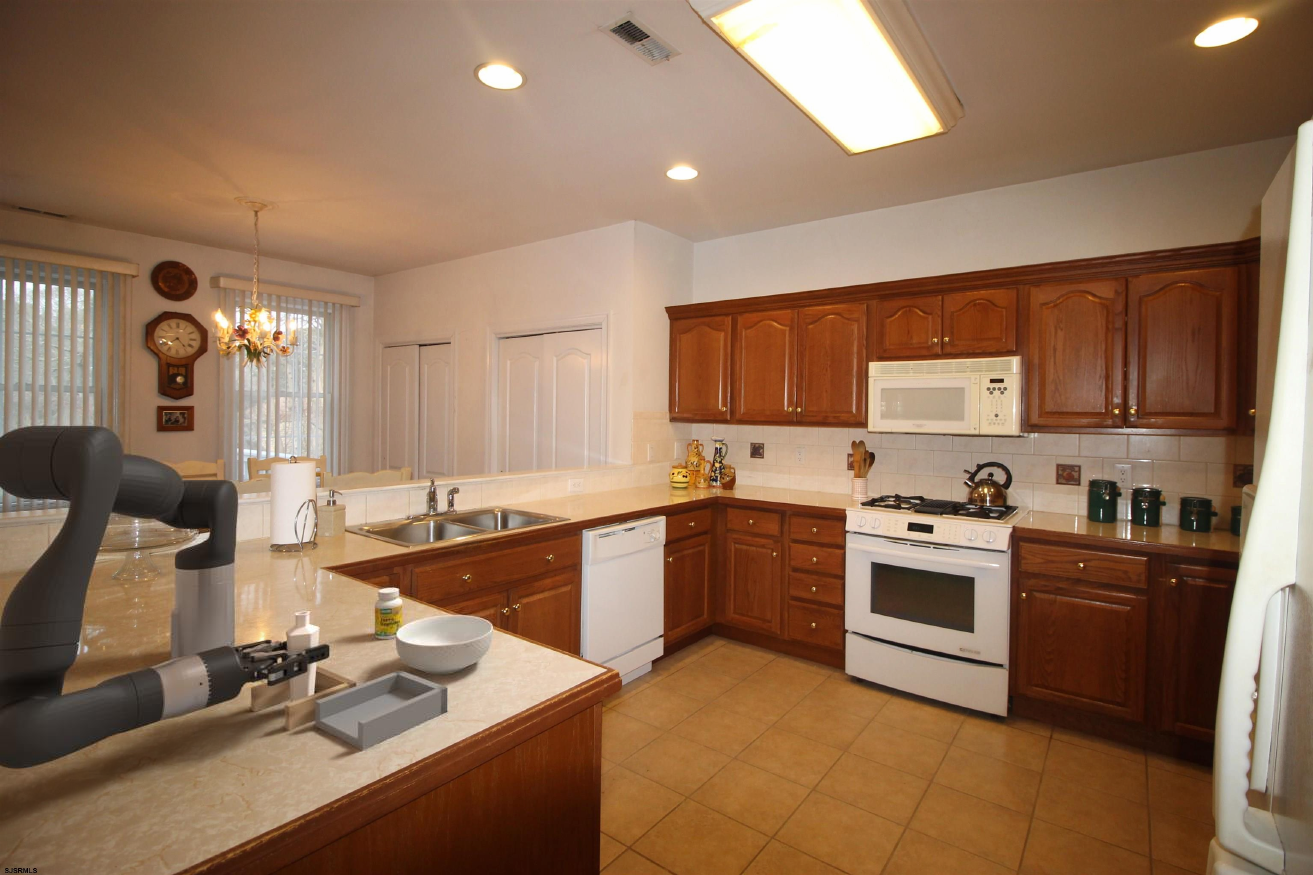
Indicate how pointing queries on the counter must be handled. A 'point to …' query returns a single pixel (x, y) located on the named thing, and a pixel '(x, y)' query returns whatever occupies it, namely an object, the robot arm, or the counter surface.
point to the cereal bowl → (444, 642)
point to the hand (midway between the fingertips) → (317, 646)
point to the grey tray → (380, 708)
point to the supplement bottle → (388, 613)
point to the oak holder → (302, 708)
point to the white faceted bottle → (297, 641)
